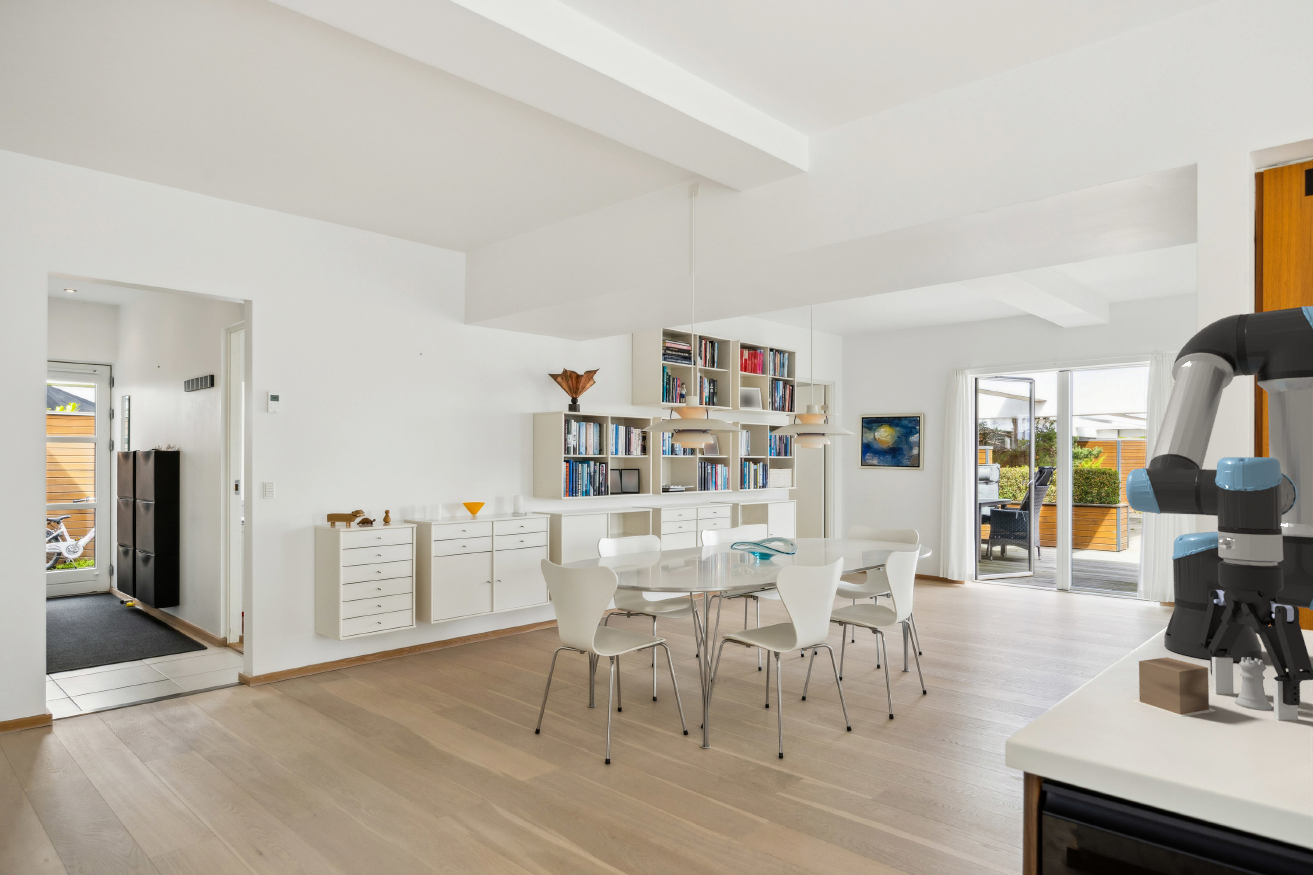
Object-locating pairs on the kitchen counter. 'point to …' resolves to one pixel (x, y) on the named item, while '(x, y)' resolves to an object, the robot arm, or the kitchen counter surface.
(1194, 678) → the walnut cube
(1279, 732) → the kitchen counter surface
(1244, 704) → the rook chess piece
